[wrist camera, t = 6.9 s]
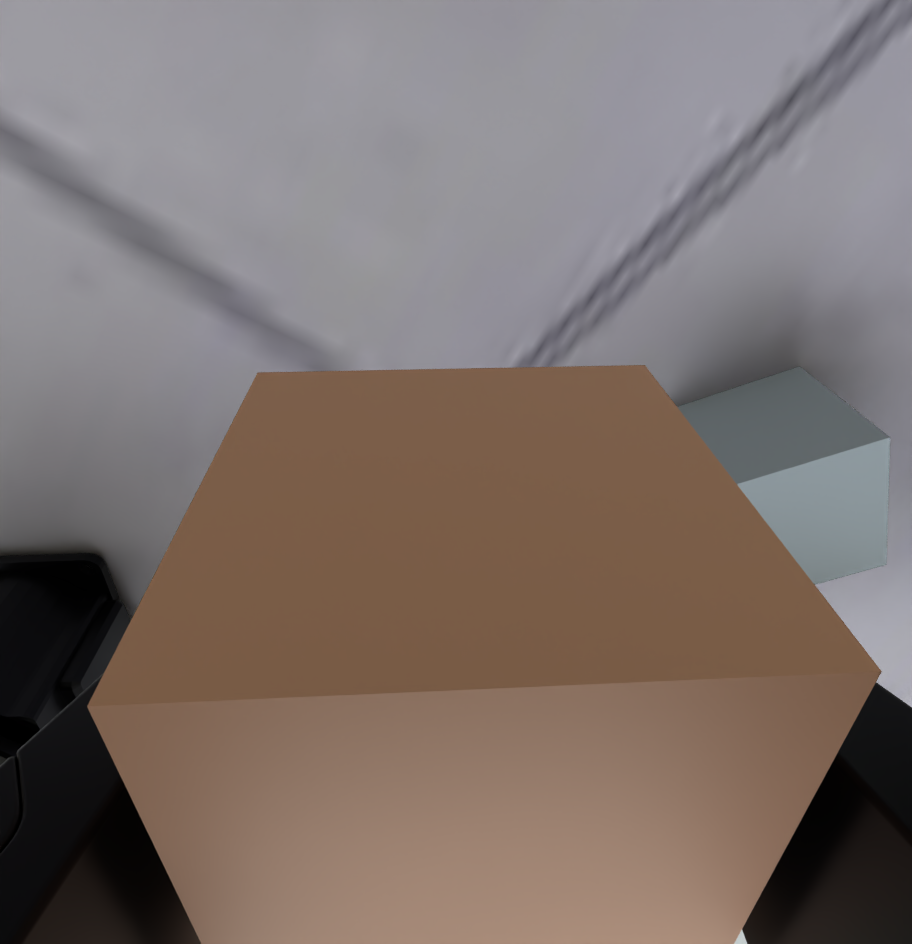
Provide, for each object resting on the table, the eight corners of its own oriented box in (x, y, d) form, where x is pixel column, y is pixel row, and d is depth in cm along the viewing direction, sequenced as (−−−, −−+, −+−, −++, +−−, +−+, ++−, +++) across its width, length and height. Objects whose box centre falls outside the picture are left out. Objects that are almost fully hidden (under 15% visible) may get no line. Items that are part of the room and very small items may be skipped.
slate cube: (677, 517, 25) (729, 608, 21) (655, 412, 22) (710, 492, 18) (805, 478, 24) (886, 564, 20) (798, 365, 22) (889, 437, 18)
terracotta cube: (306, 645, 11) (237, 1017, 7) (257, 372, 8) (87, 705, 4) (597, 634, 11) (710, 985, 7) (644, 365, 8) (882, 671, 4)
